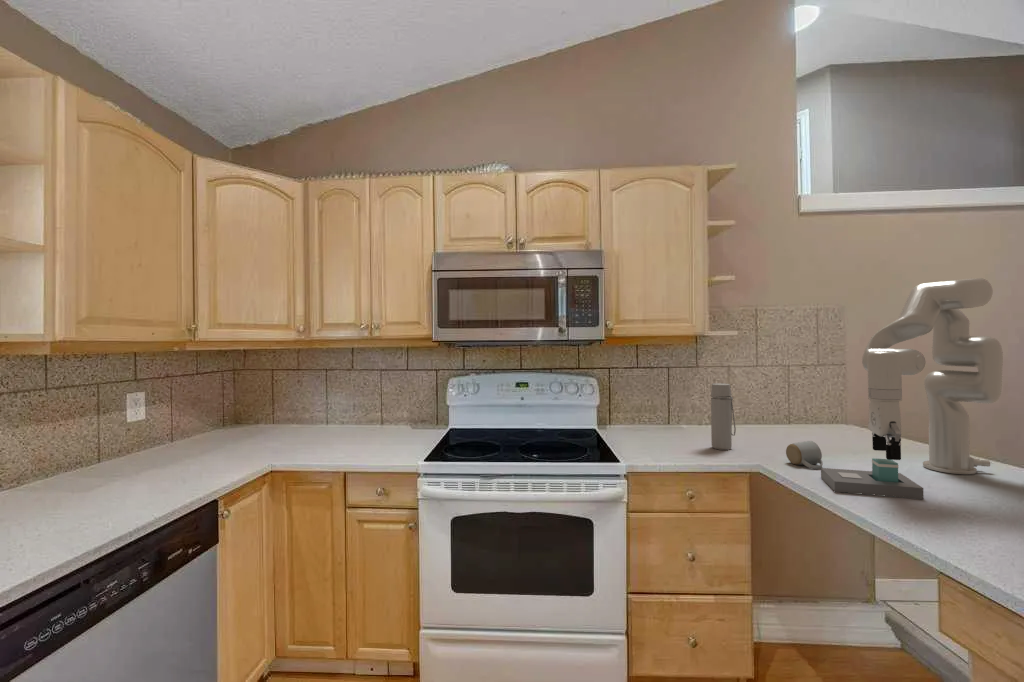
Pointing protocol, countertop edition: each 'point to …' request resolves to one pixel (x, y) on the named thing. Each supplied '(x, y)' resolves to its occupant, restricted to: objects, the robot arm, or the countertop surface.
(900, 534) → the countertop surface
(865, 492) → the block
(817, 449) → the ceramic mug
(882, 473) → the block
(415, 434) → the countertop surface
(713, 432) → the water bottle
